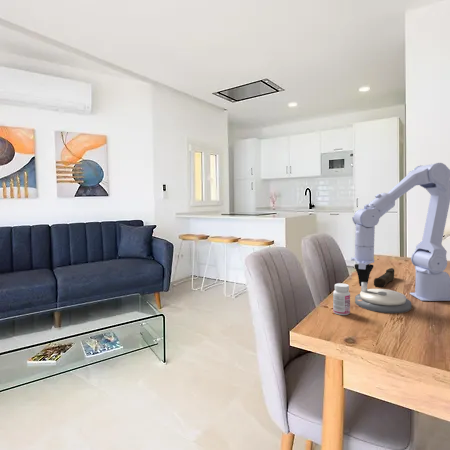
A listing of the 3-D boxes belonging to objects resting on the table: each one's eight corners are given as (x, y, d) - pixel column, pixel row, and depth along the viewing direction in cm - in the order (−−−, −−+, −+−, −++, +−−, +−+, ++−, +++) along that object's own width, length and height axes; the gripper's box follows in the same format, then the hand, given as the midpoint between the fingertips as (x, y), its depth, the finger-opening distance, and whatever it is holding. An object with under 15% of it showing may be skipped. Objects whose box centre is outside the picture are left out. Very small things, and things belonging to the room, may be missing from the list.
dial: (409, 297, 103) (409, 283, 103) (400, 308, 93) (401, 293, 93) (366, 290, 111) (366, 278, 111) (354, 300, 101) (354, 286, 101)
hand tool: (384, 289, 119) (384, 277, 119) (373, 287, 122) (373, 275, 122) (400, 279, 133) (400, 268, 133) (389, 277, 136) (390, 267, 135)
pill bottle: (348, 316, 93) (348, 287, 92) (331, 313, 95) (331, 285, 94) (351, 311, 97) (351, 283, 96) (335, 308, 99) (335, 282, 98)
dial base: (396, 296, 110) (396, 291, 110) (422, 313, 94) (422, 307, 94) (348, 296, 111) (348, 292, 111) (366, 313, 95) (366, 308, 95)
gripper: (353, 242, 114) (352, 279, 115) (348, 248, 101) (347, 290, 102) (376, 243, 110) (374, 282, 112) (373, 249, 98) (372, 293, 99)
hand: (363, 286), depth 107 cm, fingers closed, pressing on dial
